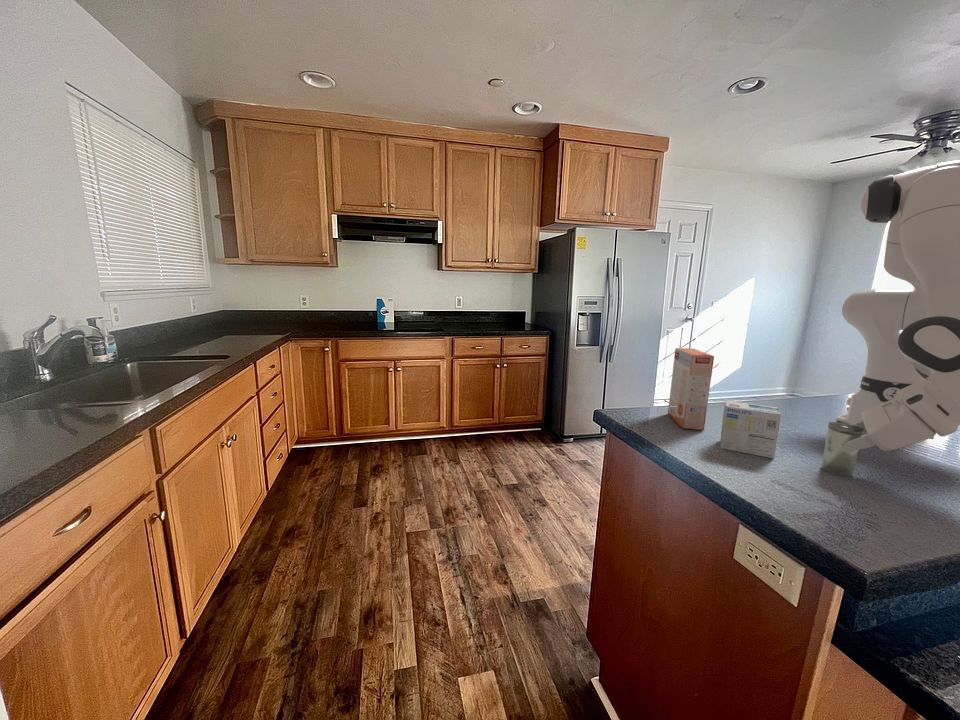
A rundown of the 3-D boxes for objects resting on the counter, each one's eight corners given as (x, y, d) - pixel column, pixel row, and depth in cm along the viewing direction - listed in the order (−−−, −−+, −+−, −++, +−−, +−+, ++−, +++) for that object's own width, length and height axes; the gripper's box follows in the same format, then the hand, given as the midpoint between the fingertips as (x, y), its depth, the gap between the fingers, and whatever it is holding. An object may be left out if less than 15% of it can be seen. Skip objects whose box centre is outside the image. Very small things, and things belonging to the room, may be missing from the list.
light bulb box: (771, 449, 89) (778, 406, 88) (775, 459, 84) (782, 414, 82) (719, 439, 95) (724, 399, 93) (719, 448, 89) (725, 405, 88)
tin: (820, 463, 82) (828, 420, 81) (853, 471, 79) (862, 426, 77) (820, 471, 79) (828, 426, 77) (854, 479, 75) (864, 432, 73)
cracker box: (705, 431, 101) (715, 355, 97) (681, 429, 102) (690, 354, 98) (688, 415, 114) (696, 348, 111) (666, 413, 115) (674, 347, 112)
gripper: (904, 383, 78) (831, 417, 86) (922, 403, 63) (832, 441, 71) (932, 409, 76) (854, 441, 84) (957, 435, 61) (861, 471, 69)
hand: (844, 441), depth 77 cm, fingers open, 8 cm apart
